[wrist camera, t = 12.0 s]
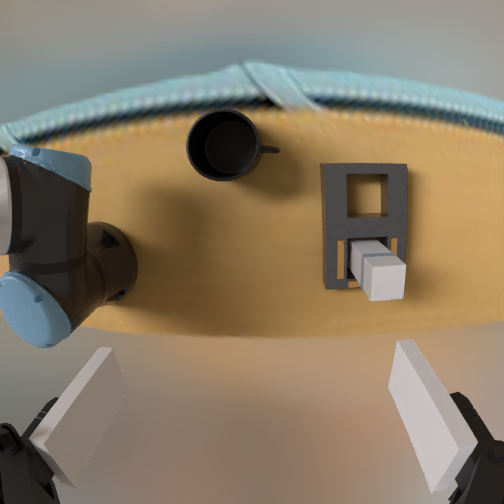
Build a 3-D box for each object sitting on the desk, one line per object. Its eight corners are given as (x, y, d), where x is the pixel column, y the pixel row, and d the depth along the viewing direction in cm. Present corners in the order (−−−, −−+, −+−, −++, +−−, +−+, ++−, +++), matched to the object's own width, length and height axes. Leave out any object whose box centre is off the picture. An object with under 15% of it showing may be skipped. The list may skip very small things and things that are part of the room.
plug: (347, 265, 51) (370, 301, 37) (347, 238, 50) (372, 266, 36) (373, 264, 50) (403, 298, 37) (374, 237, 49) (406, 264, 36)
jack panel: (322, 281, 52) (326, 290, 48) (320, 163, 47) (323, 163, 43) (396, 276, 51) (403, 284, 47) (398, 163, 46) (407, 164, 42)
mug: (276, 182, 48) (276, 186, 39) (199, 175, 48) (183, 178, 40) (282, 122, 45) (284, 113, 37) (204, 116, 46) (189, 107, 37)
